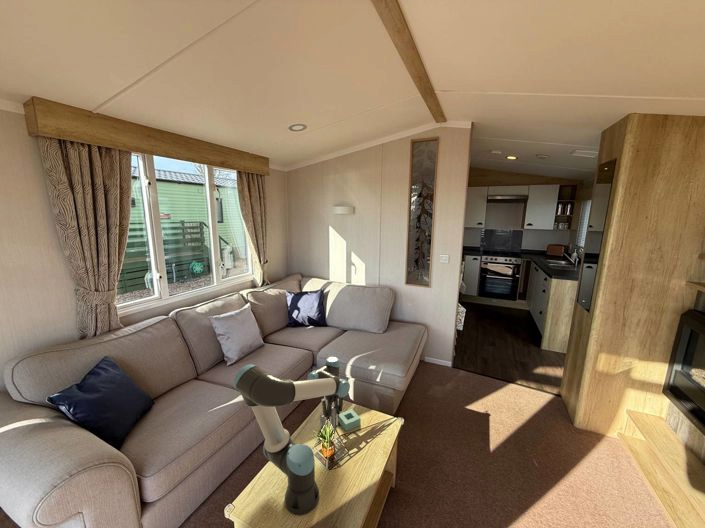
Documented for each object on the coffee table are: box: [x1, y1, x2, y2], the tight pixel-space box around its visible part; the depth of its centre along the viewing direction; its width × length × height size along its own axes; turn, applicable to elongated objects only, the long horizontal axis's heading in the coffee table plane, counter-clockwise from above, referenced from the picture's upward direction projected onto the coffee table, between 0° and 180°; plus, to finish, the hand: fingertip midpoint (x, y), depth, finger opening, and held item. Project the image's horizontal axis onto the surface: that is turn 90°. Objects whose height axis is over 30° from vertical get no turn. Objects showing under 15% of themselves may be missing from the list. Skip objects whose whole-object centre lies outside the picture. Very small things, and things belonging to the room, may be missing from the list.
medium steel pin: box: [319, 413, 326, 431], centre depth 176 cm, size 3×3×9 cm
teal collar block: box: [338, 408, 362, 432], centre depth 182 cm, size 10×10×4 cm
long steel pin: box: [330, 405, 337, 435], centre depth 167 cm, size 3×3×15 cm
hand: (332, 424), depth 167 cm, fingers closed on long steel pin, 3 cm apart
